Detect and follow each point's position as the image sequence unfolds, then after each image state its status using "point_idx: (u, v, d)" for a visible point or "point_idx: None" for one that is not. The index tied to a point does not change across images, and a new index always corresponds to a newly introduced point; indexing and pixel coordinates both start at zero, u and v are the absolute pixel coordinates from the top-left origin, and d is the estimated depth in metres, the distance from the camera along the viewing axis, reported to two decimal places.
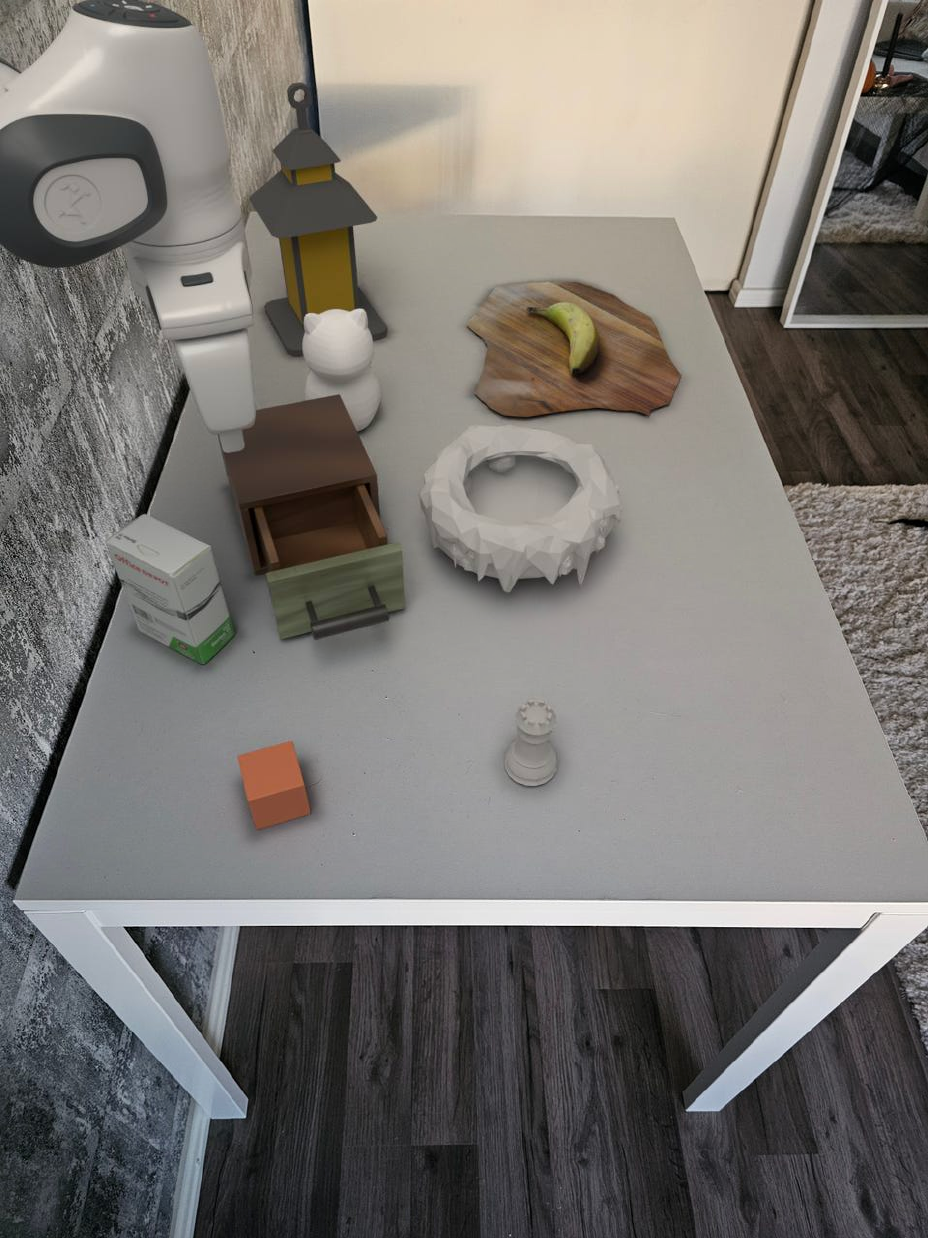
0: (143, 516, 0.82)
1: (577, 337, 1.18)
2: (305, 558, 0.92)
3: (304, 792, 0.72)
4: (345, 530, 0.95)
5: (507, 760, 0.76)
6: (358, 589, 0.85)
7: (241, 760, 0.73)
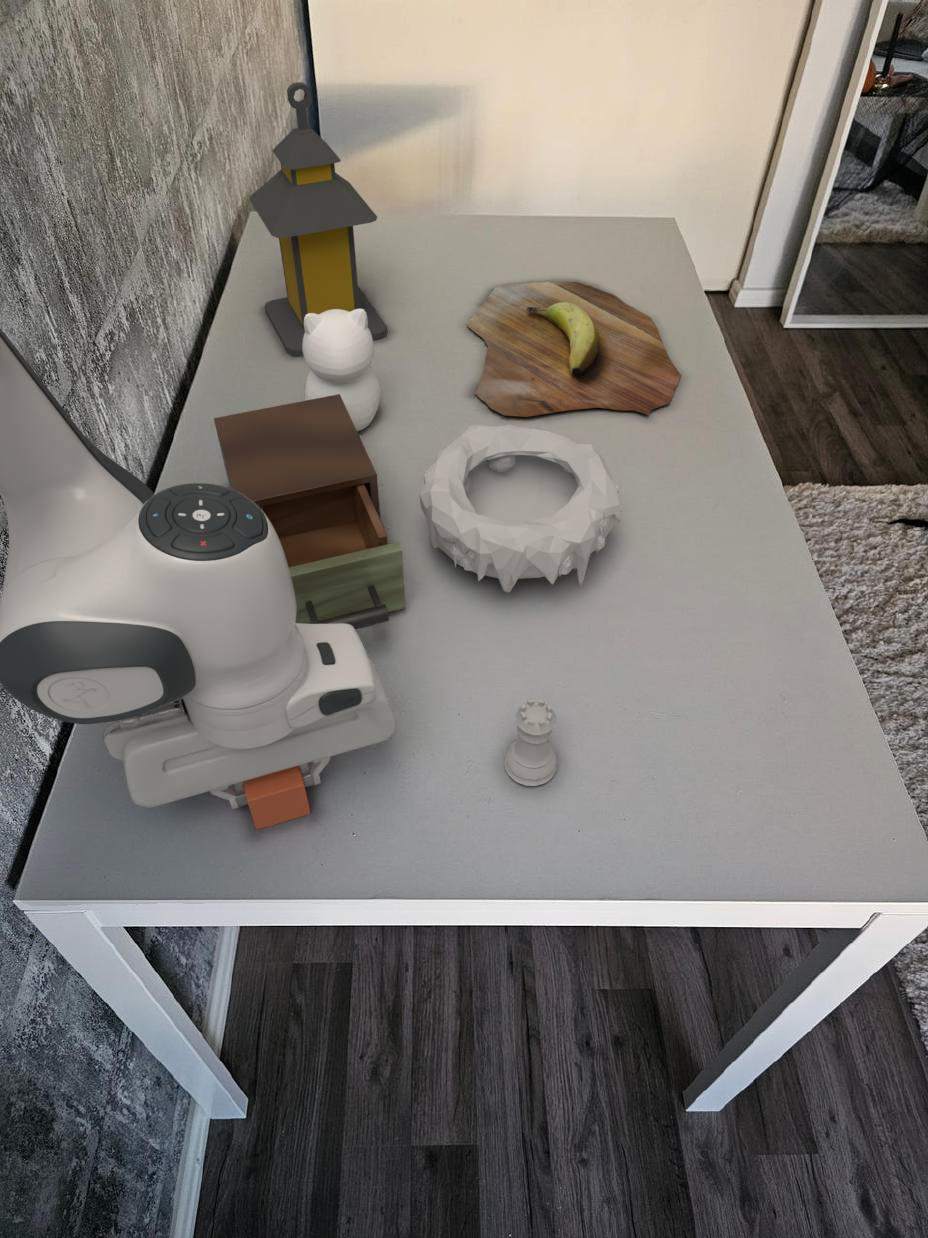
0: None
1: (577, 337, 1.18)
2: (305, 558, 0.92)
3: (304, 792, 0.72)
4: (345, 530, 0.95)
5: (507, 760, 0.76)
6: (358, 589, 0.85)
7: None
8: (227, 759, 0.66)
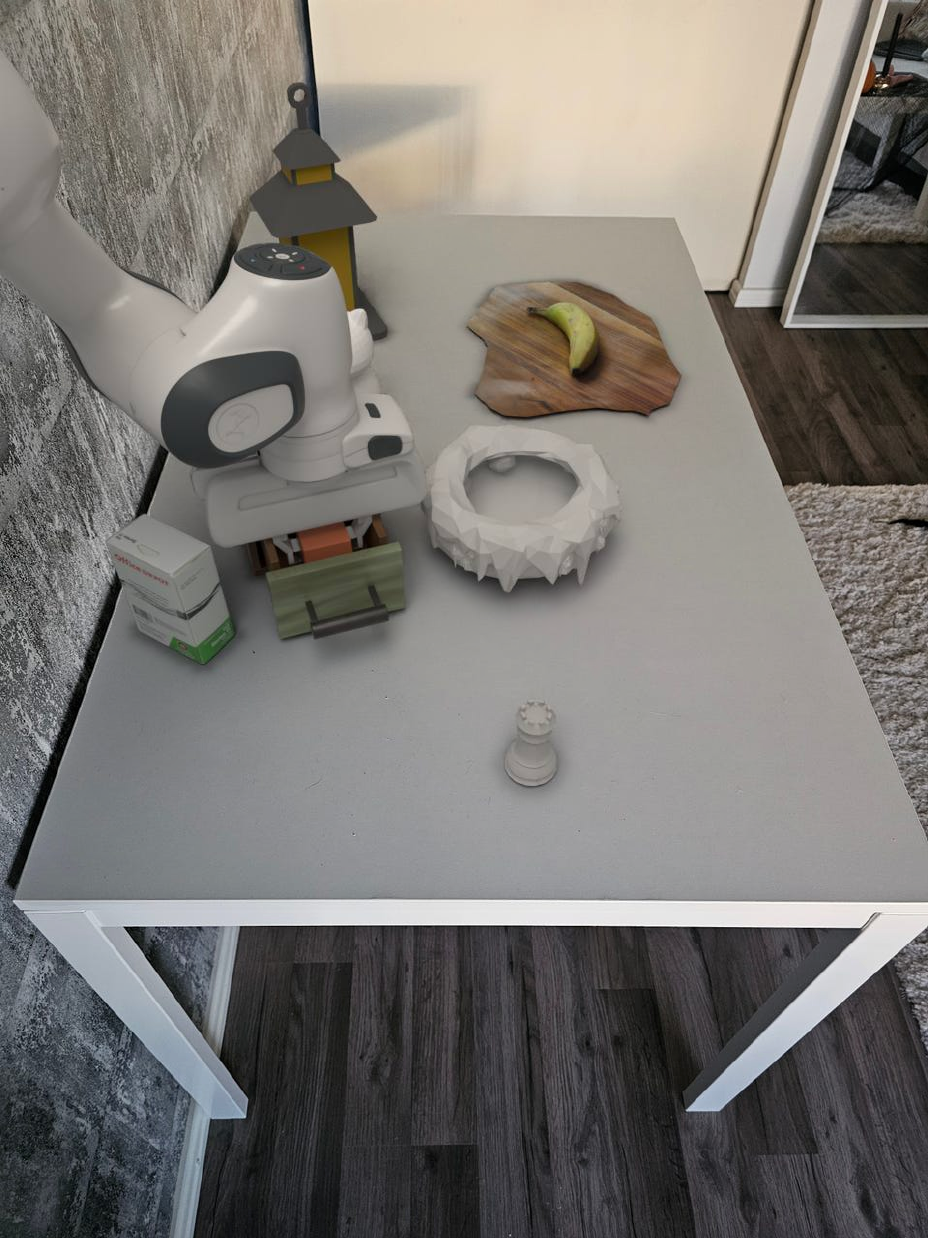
0: (143, 516, 0.82)
1: (577, 337, 1.18)
2: None
3: (350, 548, 0.86)
4: None
5: (507, 760, 0.76)
6: (358, 589, 0.85)
7: None
8: (290, 504, 0.80)
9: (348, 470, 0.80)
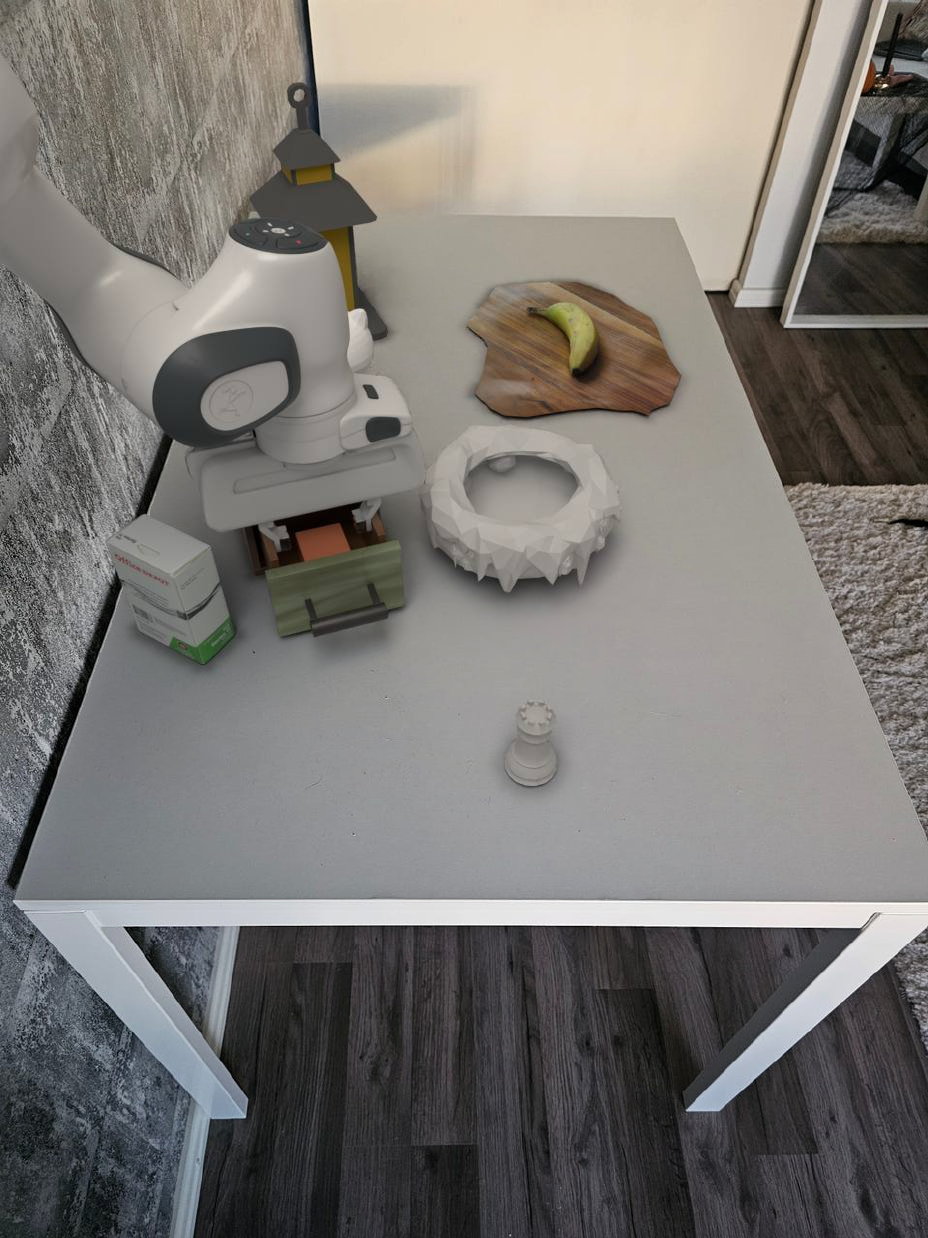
0: (143, 516, 0.82)
1: (577, 337, 1.18)
2: None
3: None
4: (344, 528, 0.95)
5: (507, 760, 0.76)
6: (357, 587, 0.85)
7: (298, 535, 0.88)
8: (286, 487, 0.79)
9: (346, 453, 0.78)
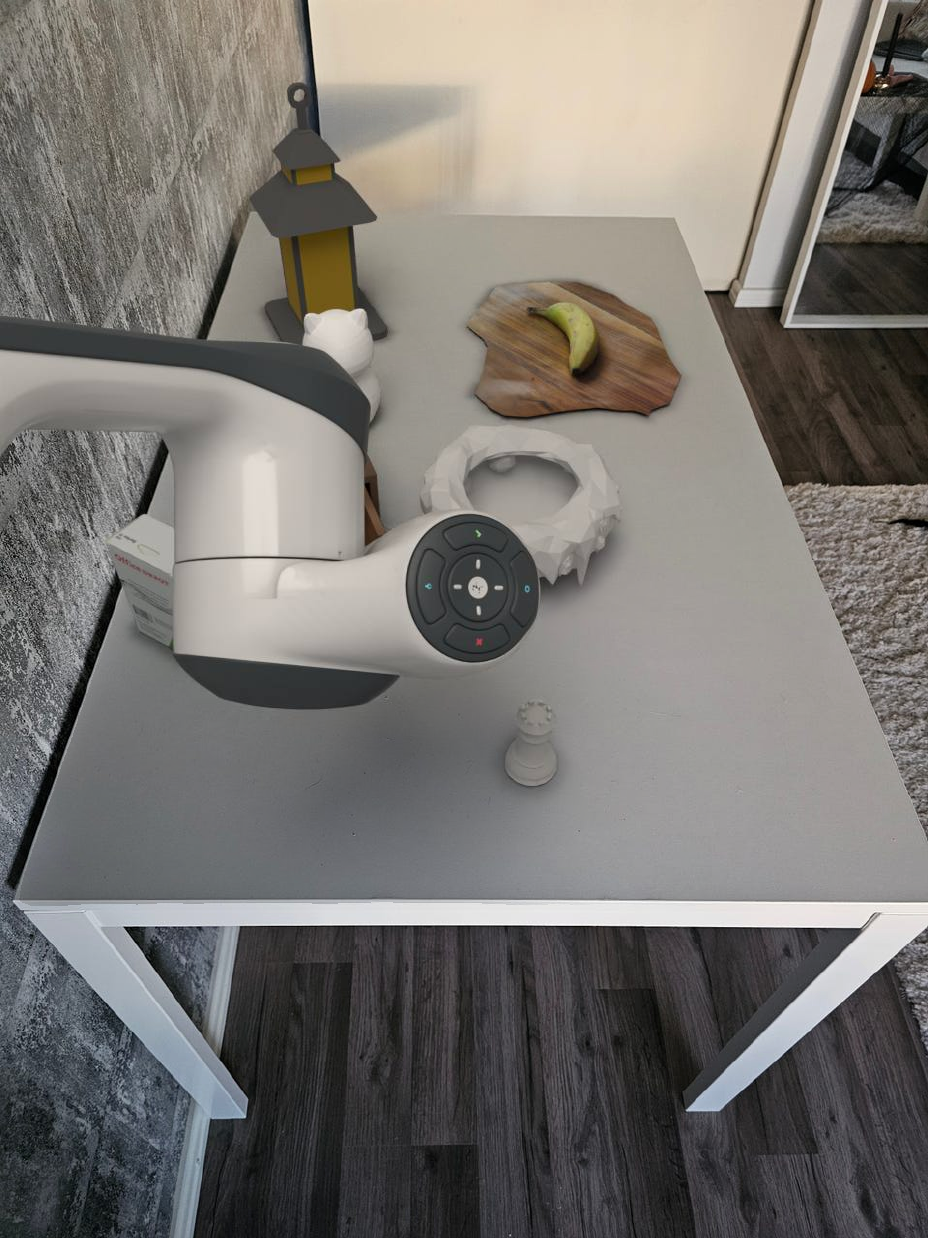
0: (143, 516, 0.82)
1: (577, 337, 1.18)
2: None
3: None
4: None
5: (507, 760, 0.76)
6: None
7: None
8: None
9: None
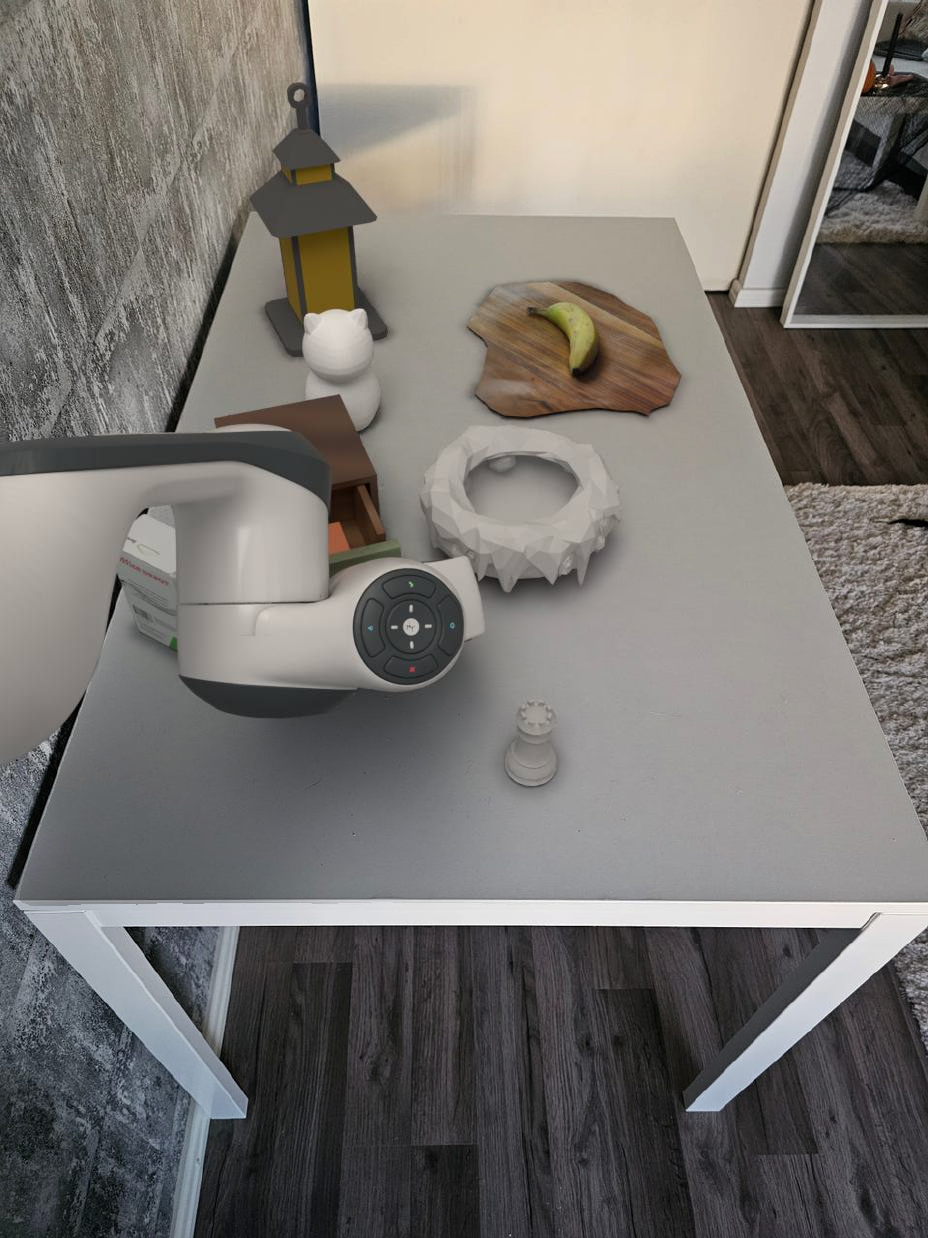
0: (143, 516, 0.82)
1: (577, 337, 1.18)
2: None
3: None
4: (344, 527, 0.95)
5: (507, 760, 0.76)
6: None
7: None
8: None
9: None
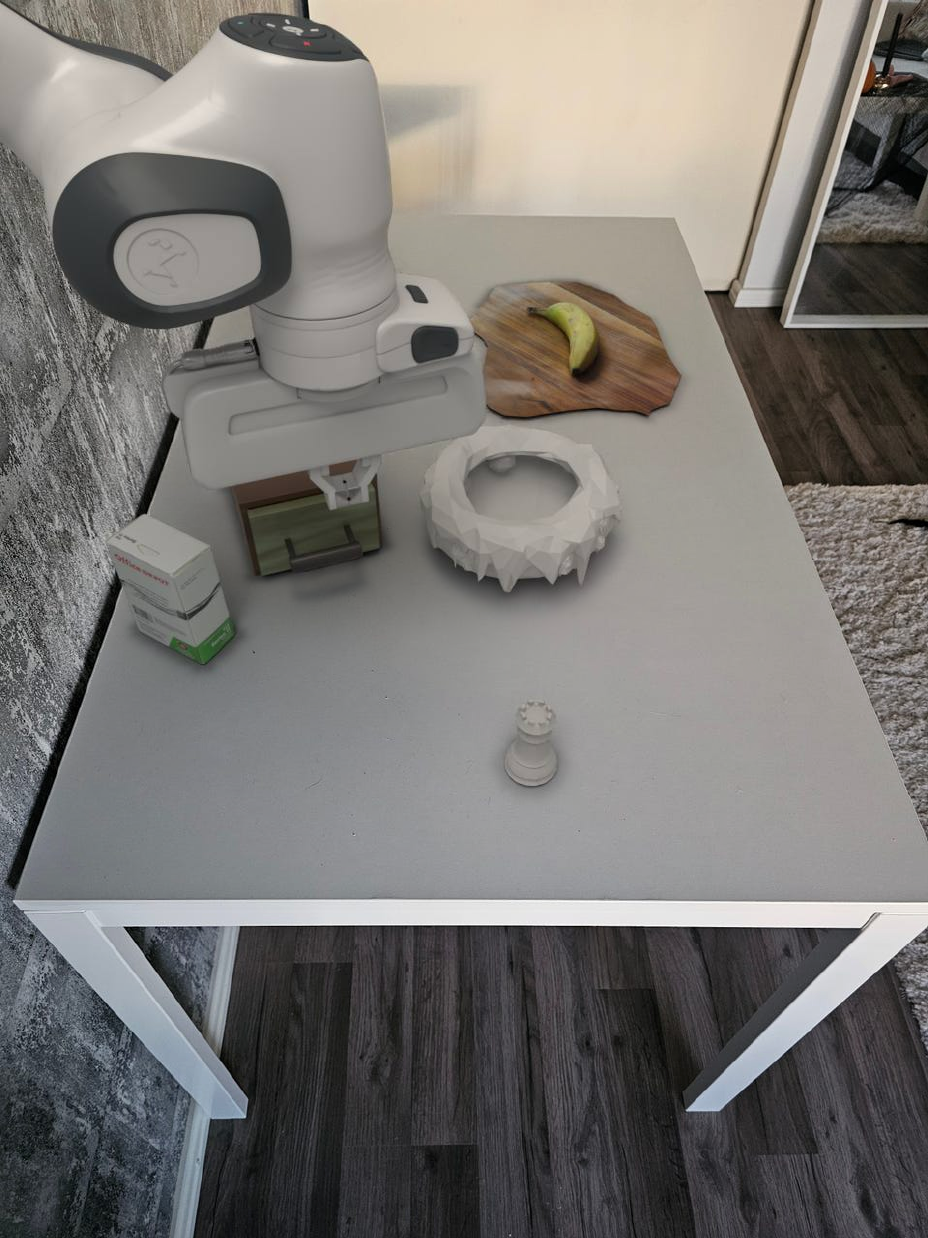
0: (143, 516, 0.82)
1: (577, 337, 1.18)
2: None
3: None
4: None
5: (507, 760, 0.76)
6: (334, 528, 0.91)
7: None
8: (301, 428, 0.58)
9: (382, 380, 0.57)
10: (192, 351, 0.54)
